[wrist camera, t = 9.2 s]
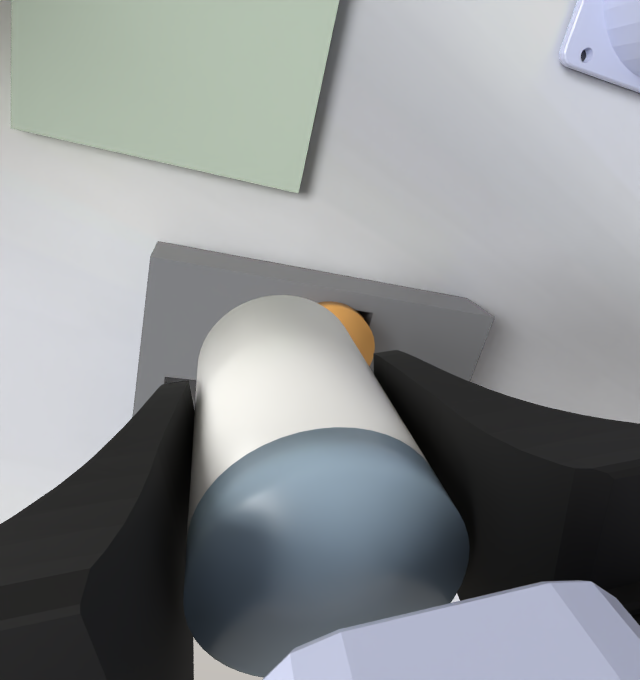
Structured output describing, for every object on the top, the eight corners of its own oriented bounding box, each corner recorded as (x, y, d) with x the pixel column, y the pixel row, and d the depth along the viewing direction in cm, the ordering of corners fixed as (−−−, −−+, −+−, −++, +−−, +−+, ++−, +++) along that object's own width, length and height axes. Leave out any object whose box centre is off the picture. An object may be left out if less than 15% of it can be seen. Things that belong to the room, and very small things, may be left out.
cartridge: (382, 332, 14) (522, 515, 8) (309, 451, 15) (378, 692, 9) (239, 267, 12) (267, 430, 6) (172, 407, 13) (136, 661, 7)
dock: (467, 298, 23) (494, 316, 21) (394, 499, 27) (411, 533, 25) (157, 241, 19) (150, 256, 17) (129, 485, 23) (120, 524, 21)
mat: (361, -118, 16) (365, -125, 15) (296, 191, 19) (298, 193, 19) (20, -262, 13) (13, -275, 13) (15, 128, 17) (10, 128, 16)
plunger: (365, 293, 21) (385, 316, 19) (344, 366, 22) (361, 397, 20) (285, 279, 20) (295, 301, 18) (268, 356, 21) (275, 387, 19)
